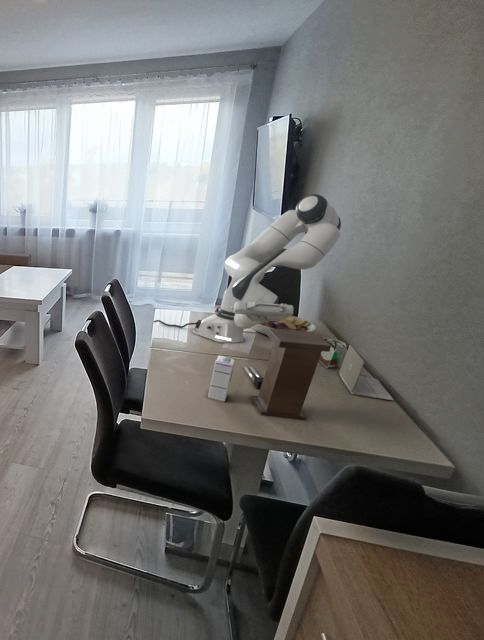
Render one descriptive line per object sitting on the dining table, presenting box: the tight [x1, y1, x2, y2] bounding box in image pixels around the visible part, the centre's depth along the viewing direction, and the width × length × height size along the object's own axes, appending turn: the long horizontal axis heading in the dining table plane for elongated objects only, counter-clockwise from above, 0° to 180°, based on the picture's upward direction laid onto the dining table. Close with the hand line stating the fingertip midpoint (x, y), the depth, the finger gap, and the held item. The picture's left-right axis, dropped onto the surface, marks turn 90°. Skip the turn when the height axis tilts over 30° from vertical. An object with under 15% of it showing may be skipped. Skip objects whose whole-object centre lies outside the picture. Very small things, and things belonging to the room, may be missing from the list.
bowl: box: [250, 315, 317, 336], centre depth 209 cm, size 30×30×8 cm
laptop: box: [338, 344, 394, 401], centre depth 153 cm, size 18×12×13 cm
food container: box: [318, 336, 348, 370], centre depth 172 cm, size 12×6×10 cm, turn 168°
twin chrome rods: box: [243, 365, 264, 390], centre depth 160 cm, size 18×4×3 cm, turn 169°
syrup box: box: [207, 355, 236, 402], centre depth 144 cm, size 6×6×14 cm
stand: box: [250, 328, 331, 421], centre depth 135 cm, size 12×14×26 cm
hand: (270, 304), depth 152 cm, fingers open, 8 cm apart
